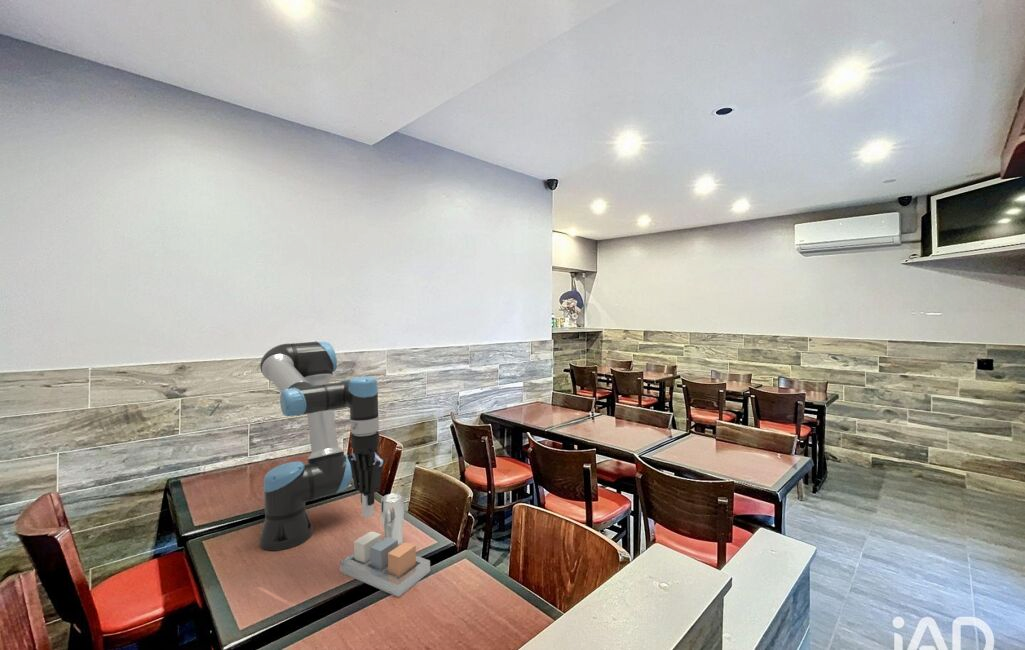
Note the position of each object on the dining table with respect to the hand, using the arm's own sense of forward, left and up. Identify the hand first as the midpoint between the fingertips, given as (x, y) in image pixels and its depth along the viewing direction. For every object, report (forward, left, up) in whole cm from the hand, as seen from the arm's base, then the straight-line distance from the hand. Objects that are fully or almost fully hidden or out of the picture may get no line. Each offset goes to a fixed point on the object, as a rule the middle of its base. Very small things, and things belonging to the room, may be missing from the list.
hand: (368, 515), depth 120 cm
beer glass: (-4, +13, -16) cm, 20 cm away
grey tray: (+6, 0, -16) cm, 17 cm away
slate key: (+6, 0, -12) cm, 13 cm away
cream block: (-1, 0, -12) cm, 12 cm away
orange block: (+13, 0, -12) cm, 17 cm away
